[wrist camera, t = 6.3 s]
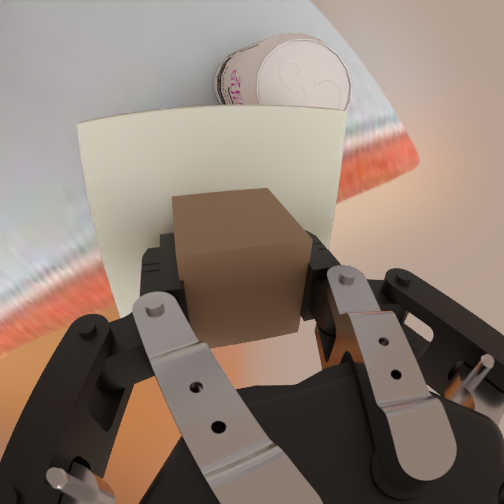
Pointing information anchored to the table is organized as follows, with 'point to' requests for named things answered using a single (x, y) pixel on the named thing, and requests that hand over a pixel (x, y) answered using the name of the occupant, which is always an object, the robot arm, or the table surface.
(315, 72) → the supplement can
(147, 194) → the board
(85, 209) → the table surface
